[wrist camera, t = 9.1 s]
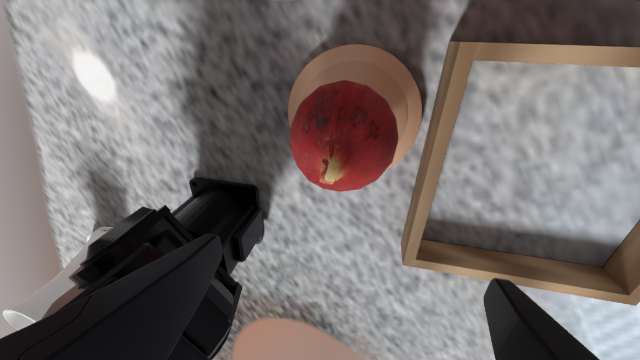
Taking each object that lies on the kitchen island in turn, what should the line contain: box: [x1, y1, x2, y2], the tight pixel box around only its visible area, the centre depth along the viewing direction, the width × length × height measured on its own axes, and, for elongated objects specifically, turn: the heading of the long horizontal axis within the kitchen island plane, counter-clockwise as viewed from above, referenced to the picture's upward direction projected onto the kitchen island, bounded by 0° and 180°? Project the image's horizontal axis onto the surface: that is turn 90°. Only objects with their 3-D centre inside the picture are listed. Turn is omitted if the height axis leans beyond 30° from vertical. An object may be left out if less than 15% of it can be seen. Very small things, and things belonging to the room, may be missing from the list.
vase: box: [3, 227, 113, 330], centre depth 28 cm, size 8×8×10 cm
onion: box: [290, 80, 399, 192], centre depth 14 cm, size 6×6×8 cm
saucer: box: [288, 44, 422, 170], centre depth 18 cm, size 9×9×1 cm
